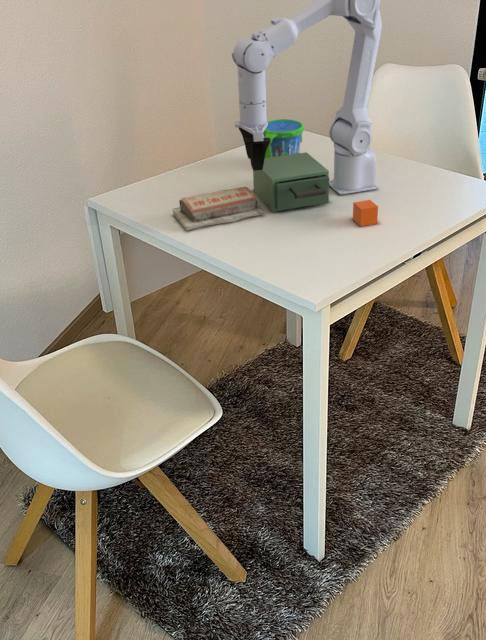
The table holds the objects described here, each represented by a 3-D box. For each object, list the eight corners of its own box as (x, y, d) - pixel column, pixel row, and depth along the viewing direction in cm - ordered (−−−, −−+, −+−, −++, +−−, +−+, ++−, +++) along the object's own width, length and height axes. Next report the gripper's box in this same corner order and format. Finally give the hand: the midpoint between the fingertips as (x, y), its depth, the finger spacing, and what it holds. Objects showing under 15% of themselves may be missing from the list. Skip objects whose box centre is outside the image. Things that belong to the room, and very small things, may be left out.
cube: (369, 216, 160) (370, 199, 158) (377, 223, 157) (378, 206, 155) (352, 219, 159) (353, 202, 157) (360, 226, 156) (361, 209, 154)
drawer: (337, 209, 162) (337, 184, 158) (285, 218, 158) (284, 193, 155) (308, 183, 175) (308, 159, 172) (259, 191, 172) (258, 167, 168)
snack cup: (280, 177, 181) (279, 137, 175) (248, 169, 186) (246, 129, 181) (317, 159, 191) (317, 120, 185) (285, 152, 196) (285, 114, 191)
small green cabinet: (328, 202, 167) (328, 170, 163) (272, 212, 164) (271, 179, 159) (306, 182, 178) (306, 152, 173) (253, 190, 174) (252, 159, 170)
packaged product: (244, 180, 167) (262, 195, 159) (245, 200, 169) (262, 216, 162) (169, 194, 161) (184, 210, 153) (172, 215, 163) (186, 232, 156)
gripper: (229, 93, 158) (233, 154, 166) (237, 111, 146) (241, 176, 154) (261, 90, 159) (263, 151, 167) (272, 109, 147) (274, 174, 155)
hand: (255, 163), depth 160 cm, fingers open, 7 cm apart
